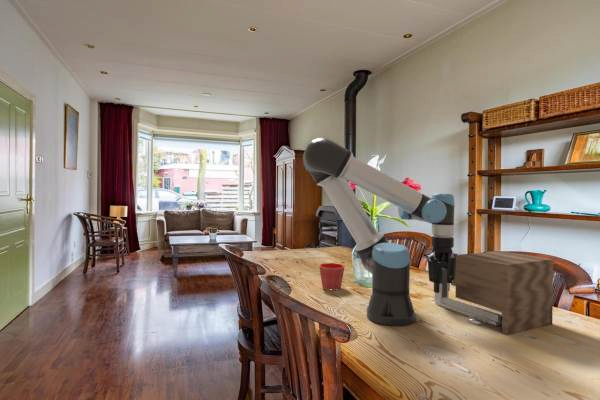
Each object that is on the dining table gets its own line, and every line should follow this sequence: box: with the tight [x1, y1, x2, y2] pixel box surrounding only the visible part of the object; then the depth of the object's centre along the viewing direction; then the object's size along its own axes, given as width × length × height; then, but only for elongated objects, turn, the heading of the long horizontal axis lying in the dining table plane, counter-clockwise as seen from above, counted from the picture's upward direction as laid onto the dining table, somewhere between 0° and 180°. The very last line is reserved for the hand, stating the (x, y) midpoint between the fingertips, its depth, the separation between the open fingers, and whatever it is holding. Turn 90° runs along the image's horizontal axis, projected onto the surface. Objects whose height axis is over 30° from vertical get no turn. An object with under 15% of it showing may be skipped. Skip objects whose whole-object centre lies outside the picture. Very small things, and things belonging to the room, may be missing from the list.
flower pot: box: [319, 262, 345, 291], centre depth 152 cm, size 11×11×10 cm
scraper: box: [434, 268, 502, 326], centre depth 120 cm, size 3×24×13 cm, turn 26°
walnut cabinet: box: [455, 250, 554, 336], centre depth 113 cm, size 21×18×20 cm
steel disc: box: [467, 316, 487, 326], centre depth 112 cm, size 5×5×1 cm
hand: (441, 300), depth 129 cm, fingers closed on scraper, 2 cm apart
